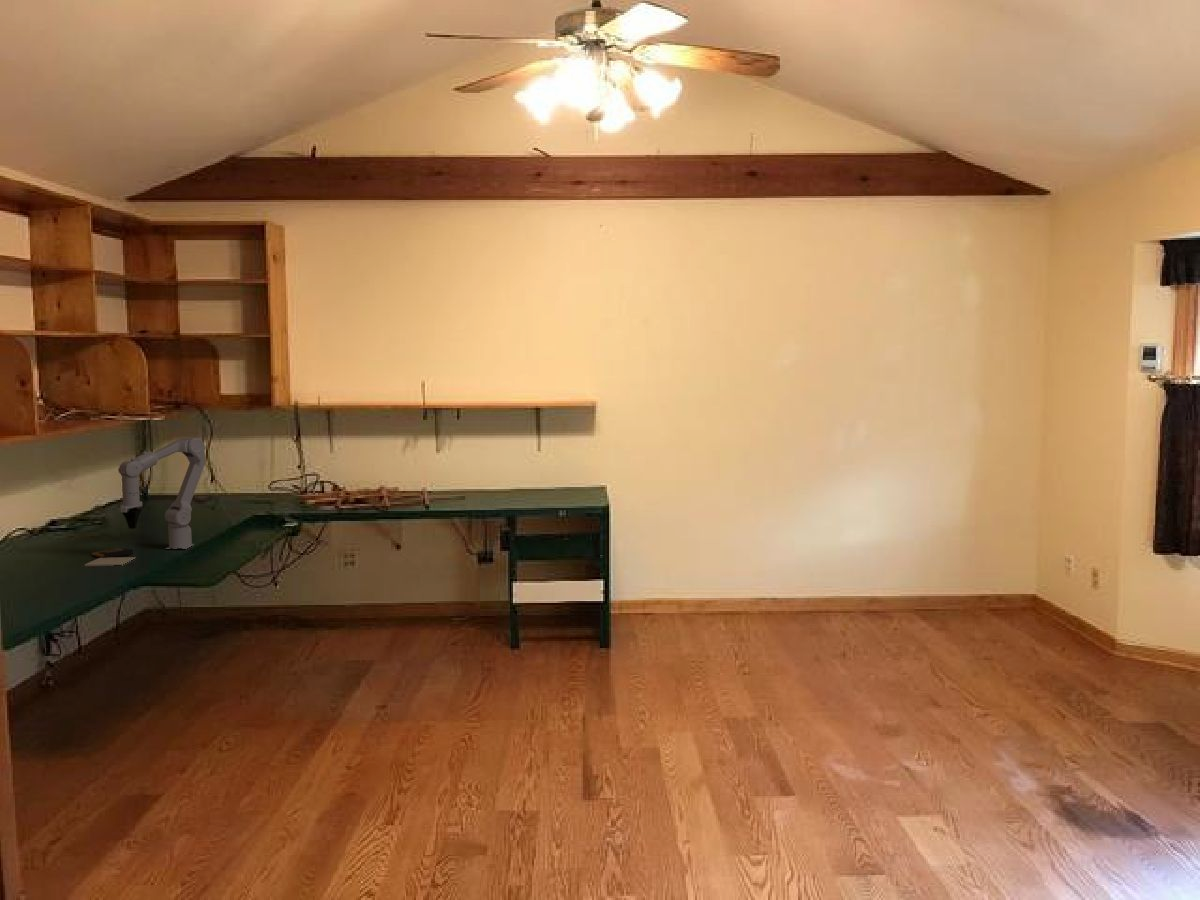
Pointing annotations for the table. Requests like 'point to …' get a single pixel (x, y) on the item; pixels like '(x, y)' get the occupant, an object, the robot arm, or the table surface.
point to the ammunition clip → (113, 553)
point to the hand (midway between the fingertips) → (132, 528)
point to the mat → (110, 561)
